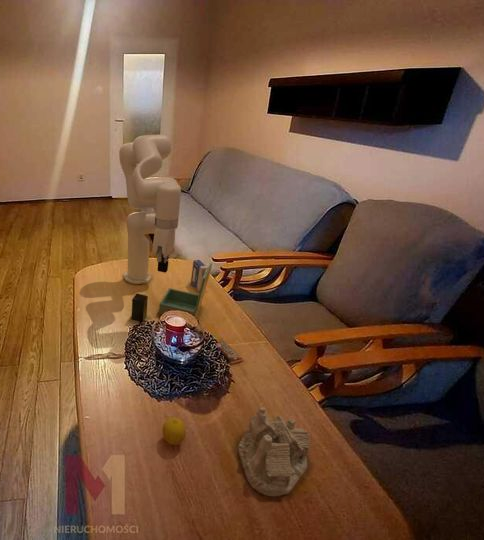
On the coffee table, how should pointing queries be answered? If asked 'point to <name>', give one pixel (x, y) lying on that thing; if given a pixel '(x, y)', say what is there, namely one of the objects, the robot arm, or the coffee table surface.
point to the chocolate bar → (228, 353)
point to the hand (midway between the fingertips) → (162, 270)
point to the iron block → (139, 307)
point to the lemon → (174, 431)
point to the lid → (203, 287)
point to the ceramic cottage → (273, 454)
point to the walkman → (198, 273)
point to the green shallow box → (179, 302)
